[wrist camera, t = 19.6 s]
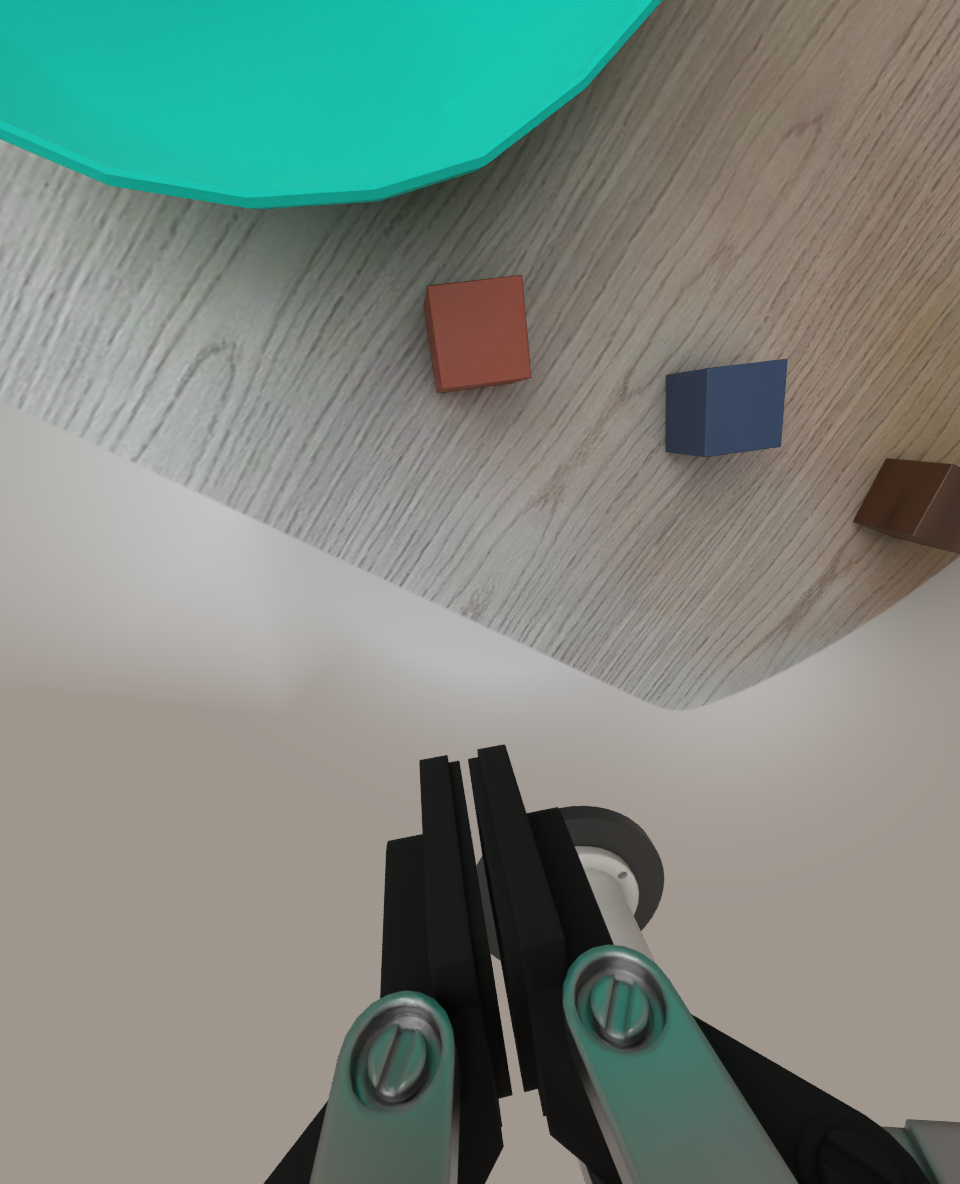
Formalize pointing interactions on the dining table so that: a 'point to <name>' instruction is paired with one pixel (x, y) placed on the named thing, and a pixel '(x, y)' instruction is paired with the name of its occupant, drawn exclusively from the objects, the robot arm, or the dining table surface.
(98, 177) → the table top decor
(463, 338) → the terracotta block
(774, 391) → the slate block
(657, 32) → the dining table surface
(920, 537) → the walnut block
